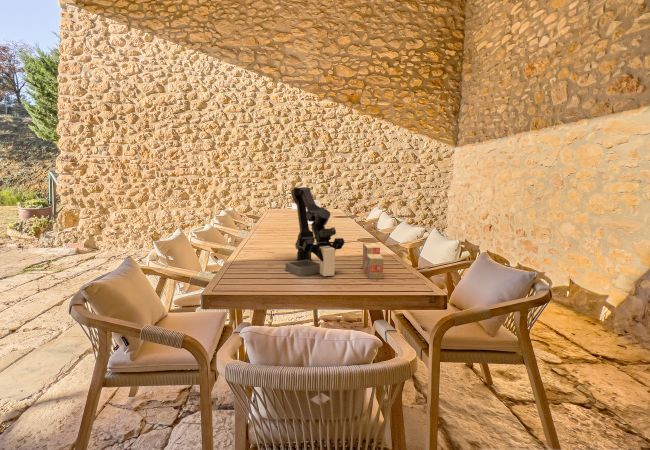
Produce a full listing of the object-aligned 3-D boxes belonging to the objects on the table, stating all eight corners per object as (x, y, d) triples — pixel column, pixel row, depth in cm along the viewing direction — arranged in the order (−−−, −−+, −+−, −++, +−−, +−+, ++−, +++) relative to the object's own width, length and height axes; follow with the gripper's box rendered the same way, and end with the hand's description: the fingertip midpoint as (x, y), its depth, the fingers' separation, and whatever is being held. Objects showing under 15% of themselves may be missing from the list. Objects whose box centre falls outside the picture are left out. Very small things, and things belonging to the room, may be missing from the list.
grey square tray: (307, 266, 184) (307, 259, 183) (322, 272, 174) (322, 264, 173) (285, 270, 176) (285, 262, 176) (300, 276, 166) (300, 268, 166)
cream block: (319, 273, 169) (320, 247, 167) (329, 272, 171) (330, 246, 169) (323, 276, 164) (324, 249, 163) (334, 275, 166) (334, 248, 164)
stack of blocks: (382, 279, 165) (383, 251, 163) (368, 278, 165) (369, 251, 163) (374, 266, 186) (375, 242, 184) (362, 266, 186) (363, 242, 184)
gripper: (304, 222, 164) (313, 251, 156) (343, 220, 171) (353, 249, 163) (299, 236, 173) (306, 265, 164) (336, 234, 180) (345, 262, 171)
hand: (328, 260), depth 165 cm, fingers closed on cream block, 5 cm apart
